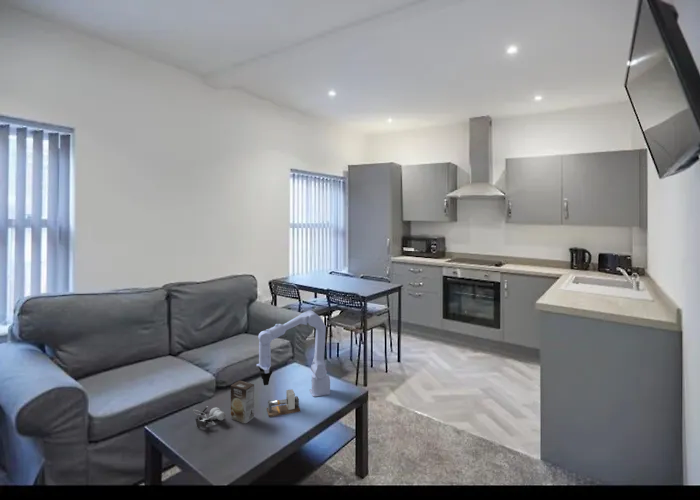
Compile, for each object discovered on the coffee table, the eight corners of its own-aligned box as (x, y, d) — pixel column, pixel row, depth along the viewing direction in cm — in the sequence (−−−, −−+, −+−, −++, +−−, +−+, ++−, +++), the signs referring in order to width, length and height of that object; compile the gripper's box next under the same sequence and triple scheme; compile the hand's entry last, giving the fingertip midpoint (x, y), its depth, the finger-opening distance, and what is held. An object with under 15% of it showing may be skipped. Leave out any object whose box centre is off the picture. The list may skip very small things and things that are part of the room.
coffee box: (229, 419, 172) (229, 385, 171) (239, 412, 178) (239, 379, 177) (245, 424, 168) (245, 389, 167) (255, 417, 174) (254, 383, 173)
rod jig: (297, 404, 186) (297, 393, 186) (300, 411, 180) (300, 400, 179) (266, 409, 181) (266, 398, 181) (268, 417, 174) (268, 405, 174)
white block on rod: (292, 403, 184) (292, 389, 184) (294, 408, 180) (294, 393, 179) (286, 404, 183) (286, 390, 183) (288, 409, 179) (288, 394, 178)
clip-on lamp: (188, 424, 173) (203, 432, 160) (186, 410, 173) (200, 417, 160) (213, 413, 181) (229, 419, 168) (210, 400, 181) (226, 405, 168)
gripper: (254, 351, 193) (255, 376, 194) (258, 361, 179) (258, 389, 181) (268, 349, 195) (268, 375, 197) (273, 359, 182) (273, 386, 183)
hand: (264, 381), depth 189 cm, fingers open, 7 cm apart
